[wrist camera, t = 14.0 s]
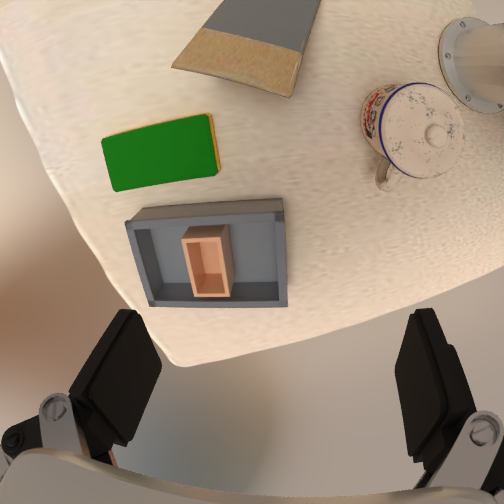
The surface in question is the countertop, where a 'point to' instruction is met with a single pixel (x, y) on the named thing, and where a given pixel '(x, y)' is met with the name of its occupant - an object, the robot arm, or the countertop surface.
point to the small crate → (209, 260)
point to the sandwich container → (253, 43)
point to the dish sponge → (162, 153)
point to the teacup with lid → (412, 131)
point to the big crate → (243, 247)
